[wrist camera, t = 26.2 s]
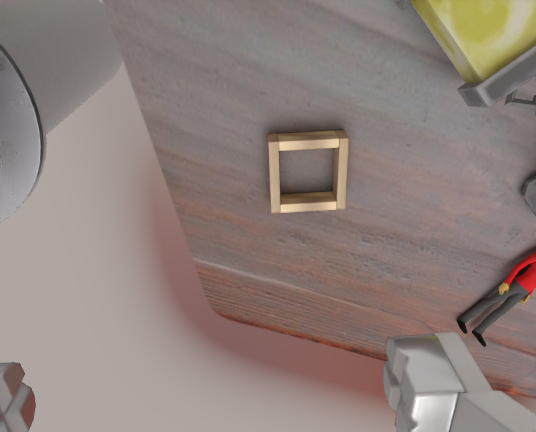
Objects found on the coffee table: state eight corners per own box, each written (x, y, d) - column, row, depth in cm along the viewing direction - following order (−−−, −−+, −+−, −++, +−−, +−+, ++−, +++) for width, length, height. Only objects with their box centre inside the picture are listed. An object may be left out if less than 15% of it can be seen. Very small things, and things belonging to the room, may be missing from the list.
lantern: (386, 11, 49) (537, 229, 51) (394, -31, 33) (614, 289, 35) (449, -40, 46) (605, 191, 49) (491, -113, 30) (722, 237, 33)
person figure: (468, 342, 56) (590, 241, 49) (449, 317, 59) (562, 219, 52) (487, 347, 59) (605, 253, 52) (469, 324, 62) (578, 231, 55)
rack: (269, 202, 50) (271, 213, 48) (267, 133, 46) (268, 142, 44) (340, 198, 50) (345, 209, 48) (344, 129, 46) (349, 137, 44)
